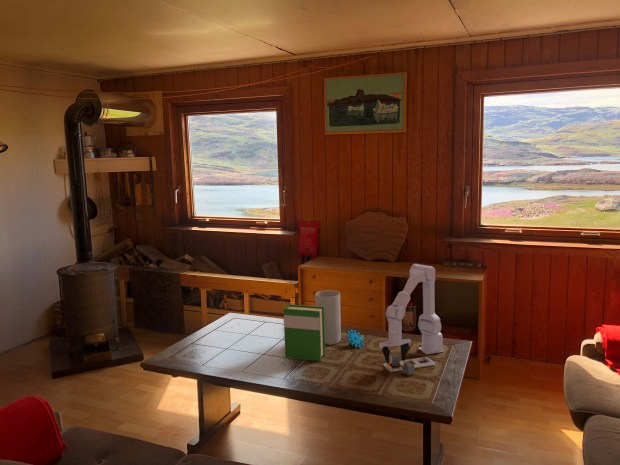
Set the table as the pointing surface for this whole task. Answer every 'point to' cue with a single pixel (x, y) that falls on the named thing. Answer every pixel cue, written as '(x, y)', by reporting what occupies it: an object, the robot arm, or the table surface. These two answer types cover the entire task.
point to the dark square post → (395, 360)
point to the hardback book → (304, 332)
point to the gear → (355, 338)
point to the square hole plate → (414, 361)
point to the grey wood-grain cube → (408, 368)
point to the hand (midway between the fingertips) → (395, 361)
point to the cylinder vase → (330, 315)
